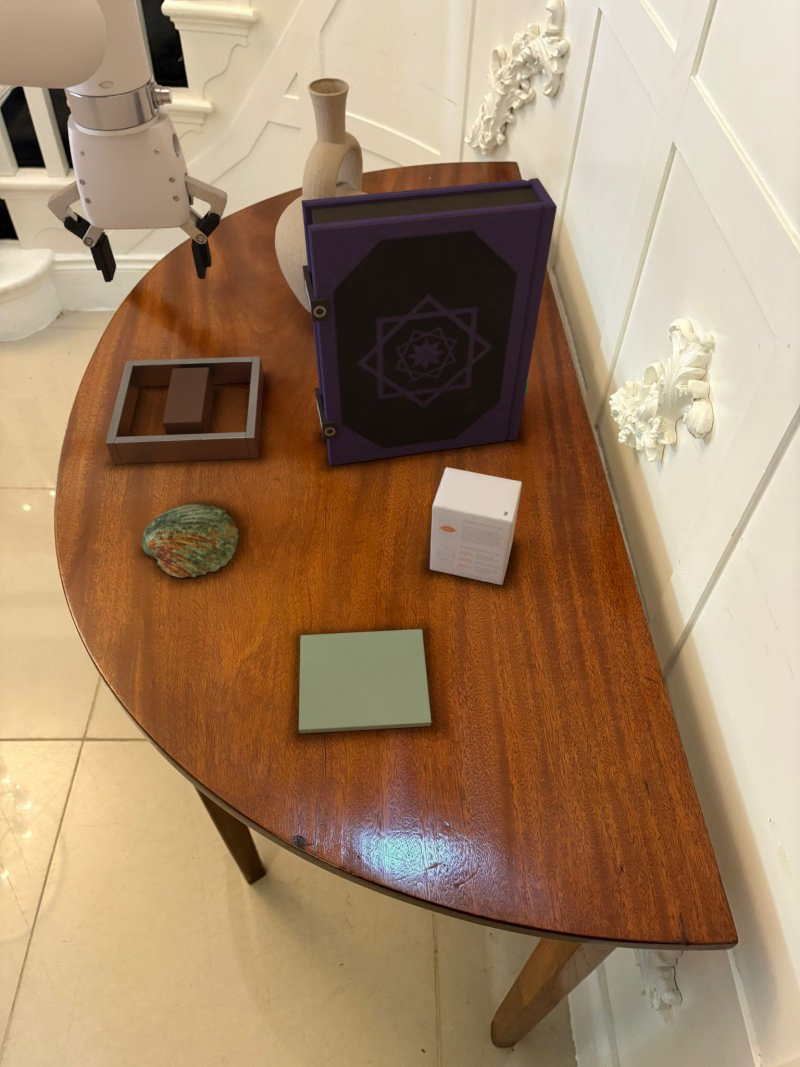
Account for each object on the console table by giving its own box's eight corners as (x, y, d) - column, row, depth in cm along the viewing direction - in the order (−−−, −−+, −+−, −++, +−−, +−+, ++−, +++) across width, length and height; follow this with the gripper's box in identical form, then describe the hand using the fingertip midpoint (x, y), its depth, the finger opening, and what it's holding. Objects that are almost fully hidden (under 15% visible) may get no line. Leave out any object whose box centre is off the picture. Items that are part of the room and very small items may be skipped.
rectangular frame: (113, 464, 92) (105, 443, 89) (133, 382, 101) (126, 360, 99) (258, 458, 93) (254, 437, 90) (264, 377, 102) (260, 356, 99)
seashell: (234, 545, 79) (133, 559, 78) (241, 571, 82) (144, 585, 81) (231, 480, 86) (138, 492, 84) (237, 506, 89) (148, 518, 87)
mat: (299, 733, 70) (298, 729, 70) (301, 639, 77) (300, 635, 76) (430, 726, 71) (431, 722, 70) (421, 633, 77) (422, 628, 77)
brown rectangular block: (169, 447, 94) (162, 422, 91) (179, 393, 100) (172, 368, 97) (207, 446, 94) (201, 421, 91) (214, 391, 100) (208, 367, 97)
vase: (381, 354, 105) (378, 124, 82) (266, 334, 108) (232, 106, 85) (412, 287, 115) (417, 65, 92) (306, 270, 118) (285, 51, 95)
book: (503, 408, 98) (537, 174, 75) (518, 442, 95) (558, 207, 71) (319, 434, 95) (295, 197, 72) (326, 470, 91) (304, 232, 68)
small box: (512, 547, 84) (524, 480, 76) (502, 587, 81) (514, 522, 73) (440, 531, 86) (445, 464, 77) (427, 570, 82) (431, 504, 74)
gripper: (214, 83, 72) (241, 252, 85) (23, 87, 71) (80, 257, 84) (207, 118, 67) (237, 291, 81) (3, 122, 66) (67, 296, 80)
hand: (157, 273), depth 82 cm, fingers open, 9 cm apart
